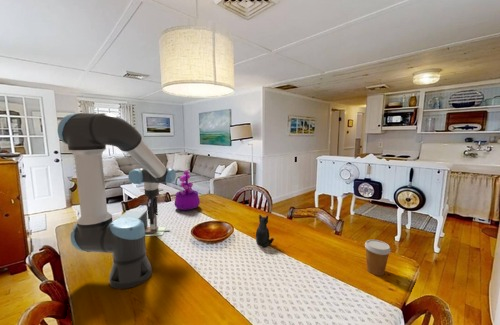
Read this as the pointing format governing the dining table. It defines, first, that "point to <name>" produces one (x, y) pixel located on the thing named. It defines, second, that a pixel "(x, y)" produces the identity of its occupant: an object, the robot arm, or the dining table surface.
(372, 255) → the disposable coffee cup
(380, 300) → the dining table surface
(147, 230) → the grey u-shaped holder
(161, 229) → the mat
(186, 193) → the decorative plant
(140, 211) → the tunnel
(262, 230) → the figurine
